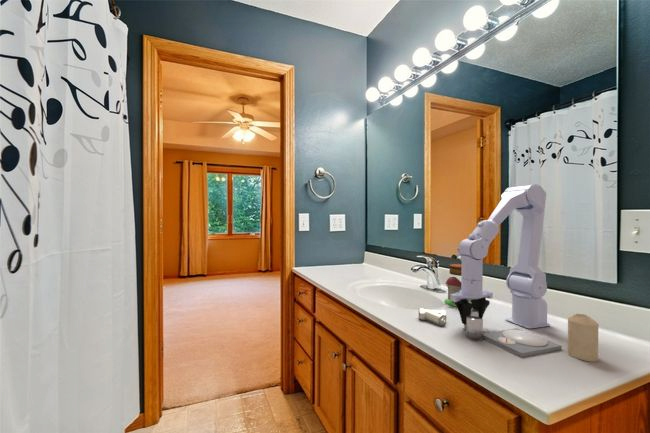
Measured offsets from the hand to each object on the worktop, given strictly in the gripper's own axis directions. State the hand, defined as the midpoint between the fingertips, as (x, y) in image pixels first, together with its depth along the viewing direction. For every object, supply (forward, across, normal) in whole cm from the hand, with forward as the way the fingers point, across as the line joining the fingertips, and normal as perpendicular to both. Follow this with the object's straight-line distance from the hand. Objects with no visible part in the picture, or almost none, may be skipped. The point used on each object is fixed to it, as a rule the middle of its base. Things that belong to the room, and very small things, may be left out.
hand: (471, 323), depth 86 cm
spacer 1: (+1, 0, 0) cm, 1 cm away
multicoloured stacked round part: (+2, -15, -21) cm, 26 cm away
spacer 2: (+2, +5, +6) cm, 8 cm away
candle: (+2, -12, +22) cm, 25 cm away
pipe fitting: (+2, +8, -8) cm, 11 cm away
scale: (+1, -4, +12) cm, 13 cm away
